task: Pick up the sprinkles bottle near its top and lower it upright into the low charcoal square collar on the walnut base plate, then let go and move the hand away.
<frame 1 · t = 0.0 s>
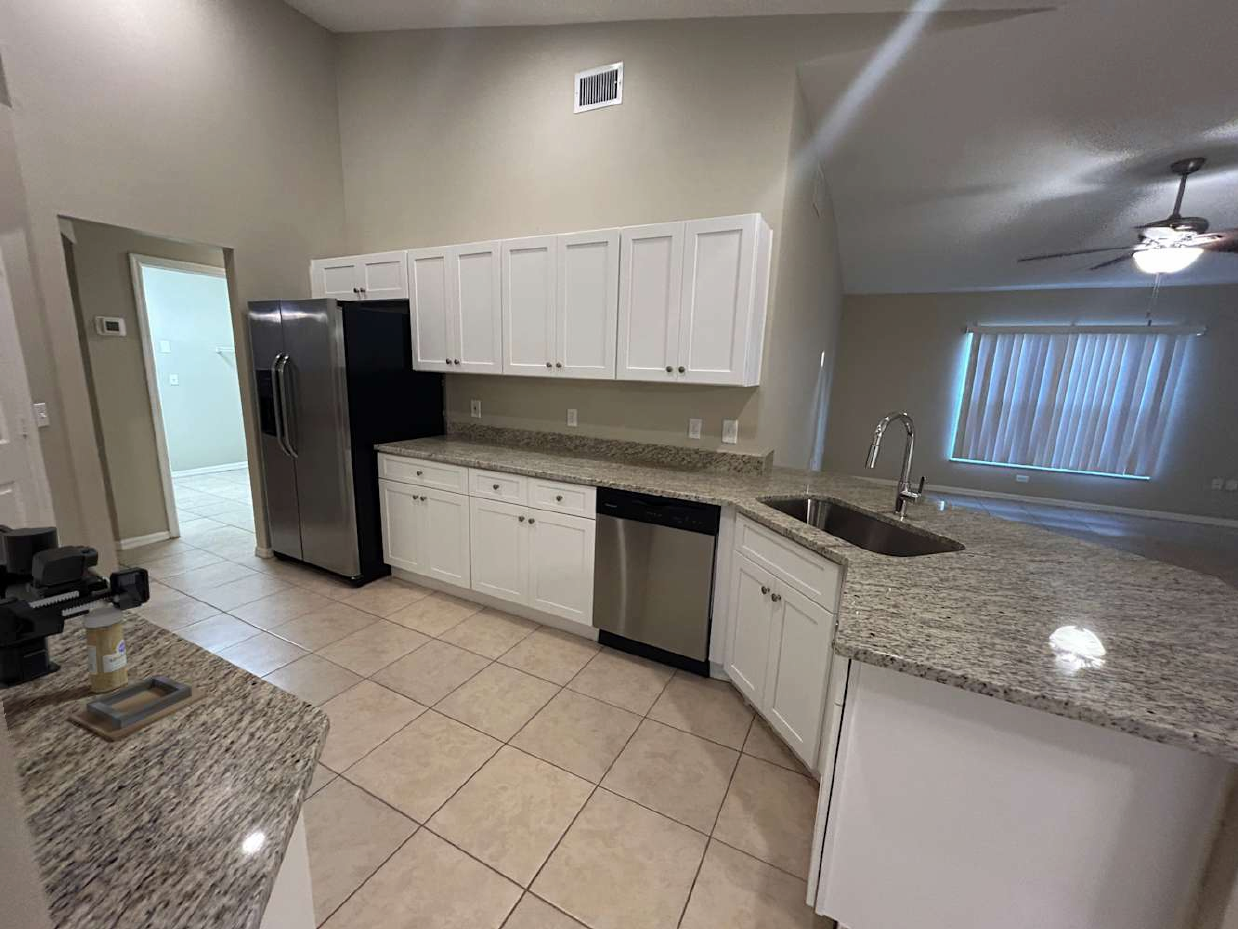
hand: (101, 614, 74), 17 cm above the counter, tool horizontal, fingers open, 9 cm apart
sprinkles bottle: (110, 687, 83), on the counter
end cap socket: (141, 706, 79), on the counter
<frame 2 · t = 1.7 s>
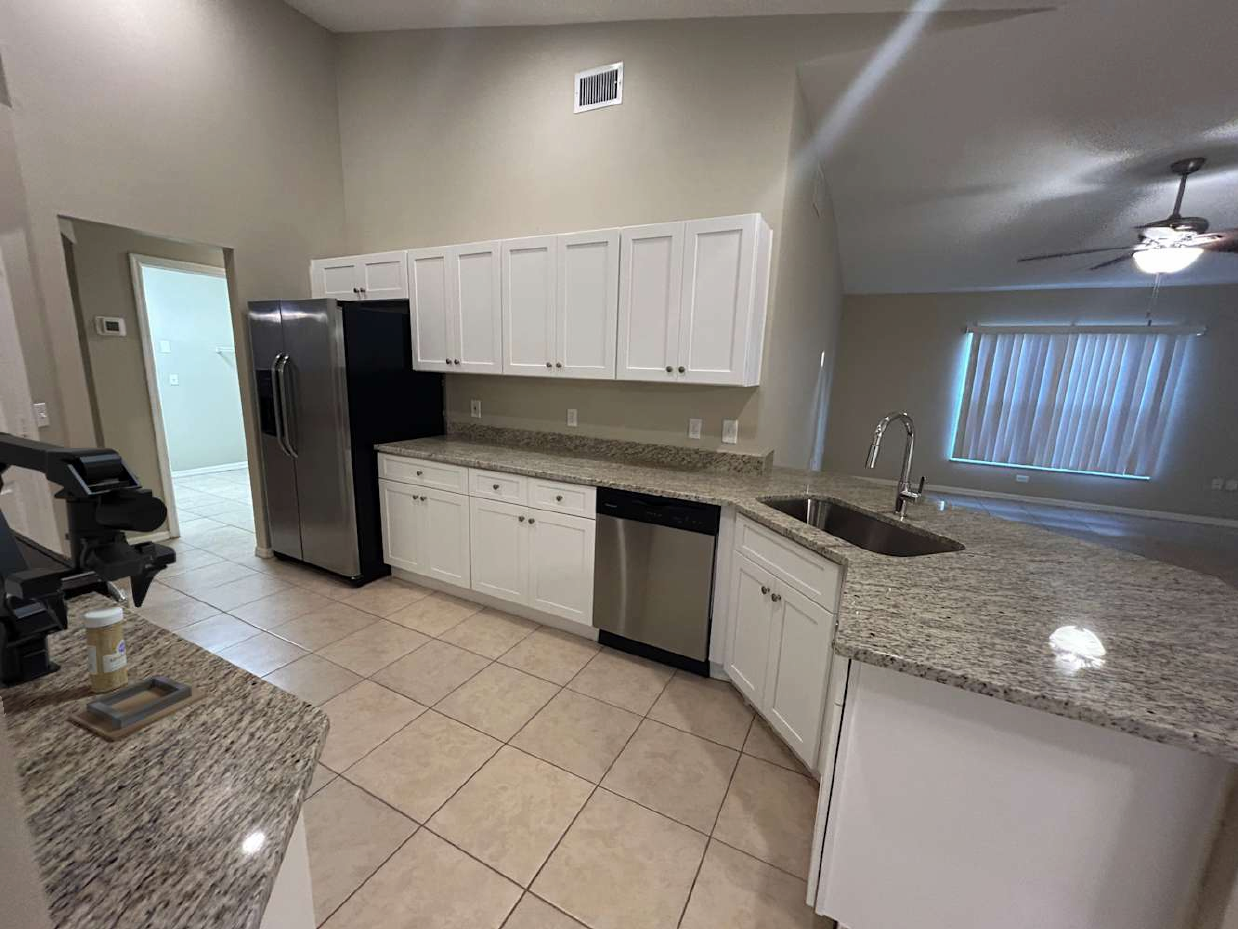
hand: (103, 617, 82), 12 cm above the counter, tool pointing down, fingers open, 9 cm apart
nothing on the counter moved.
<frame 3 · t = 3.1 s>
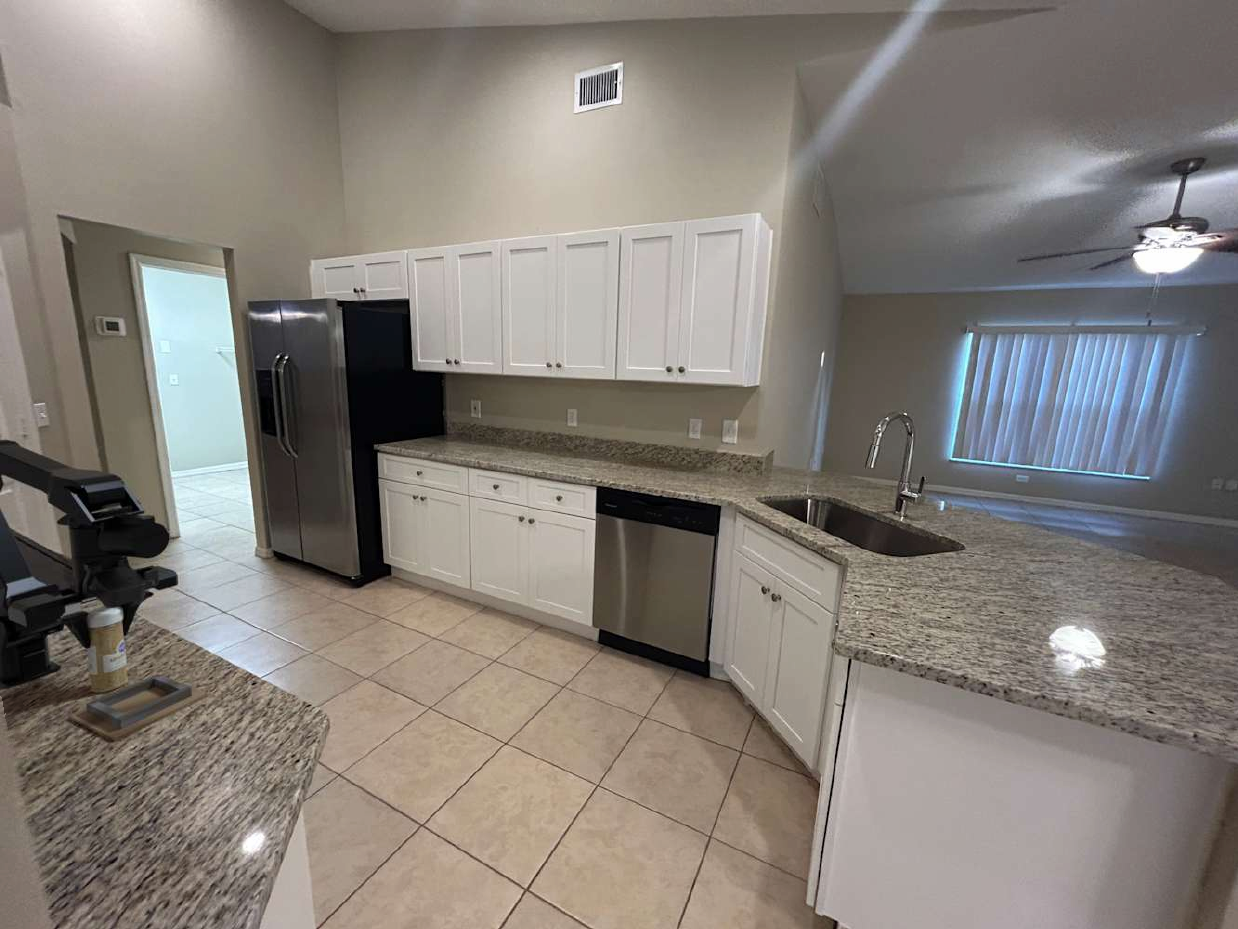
hand: (105, 641, 82), 8 cm above the counter, tool pointing down, fingers closed on sprinkles bottle, 4 cm apart
sprinkles bottle: (110, 687, 83), on the counter, touching gripper
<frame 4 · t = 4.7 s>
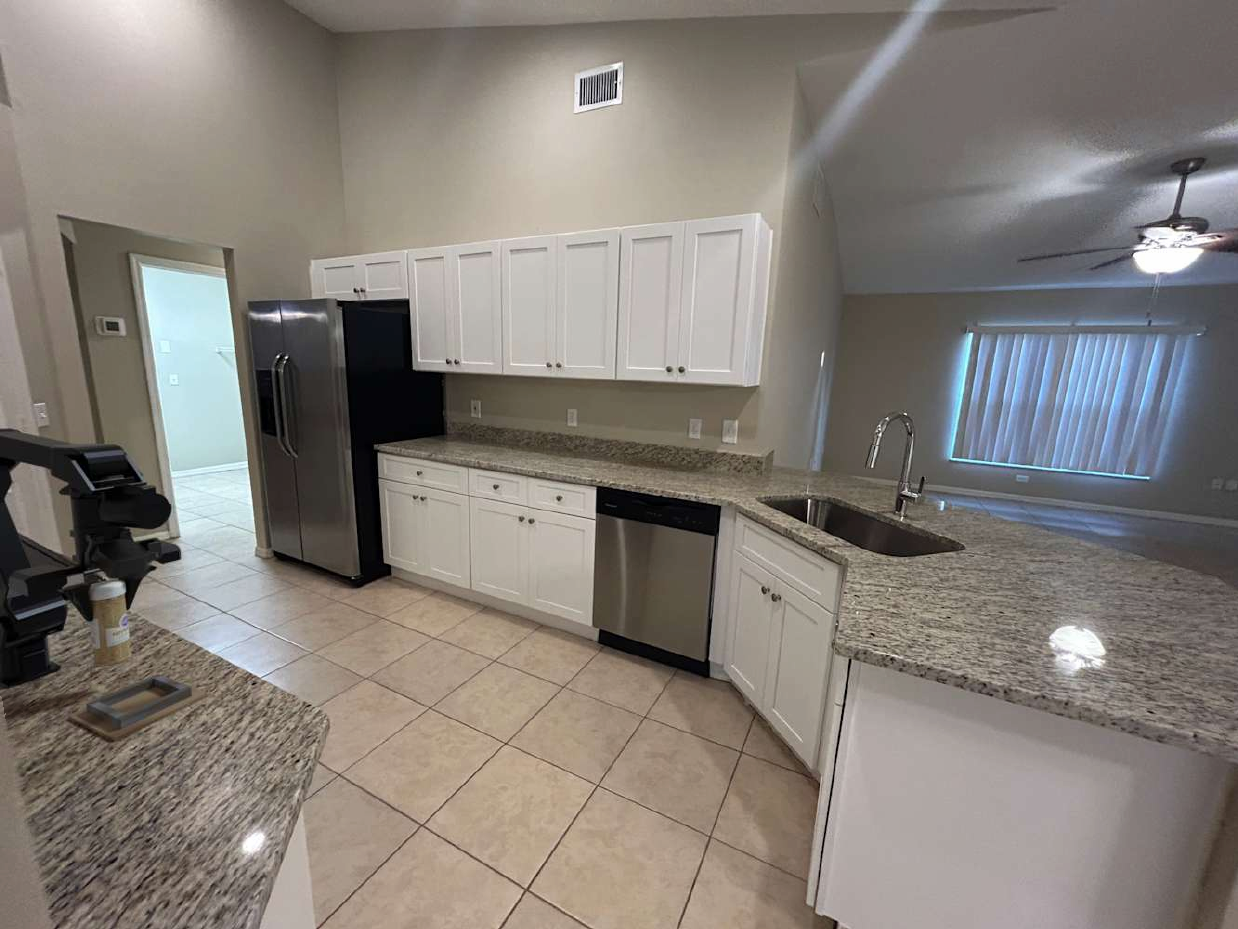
hand: (108, 615, 81), 13 cm above the counter, tool pointing down, fingers closed on sprinkles bottle, 4 cm apart
sprinkles bottle: (113, 661, 82), point 5 cm above the counter, touching gripper
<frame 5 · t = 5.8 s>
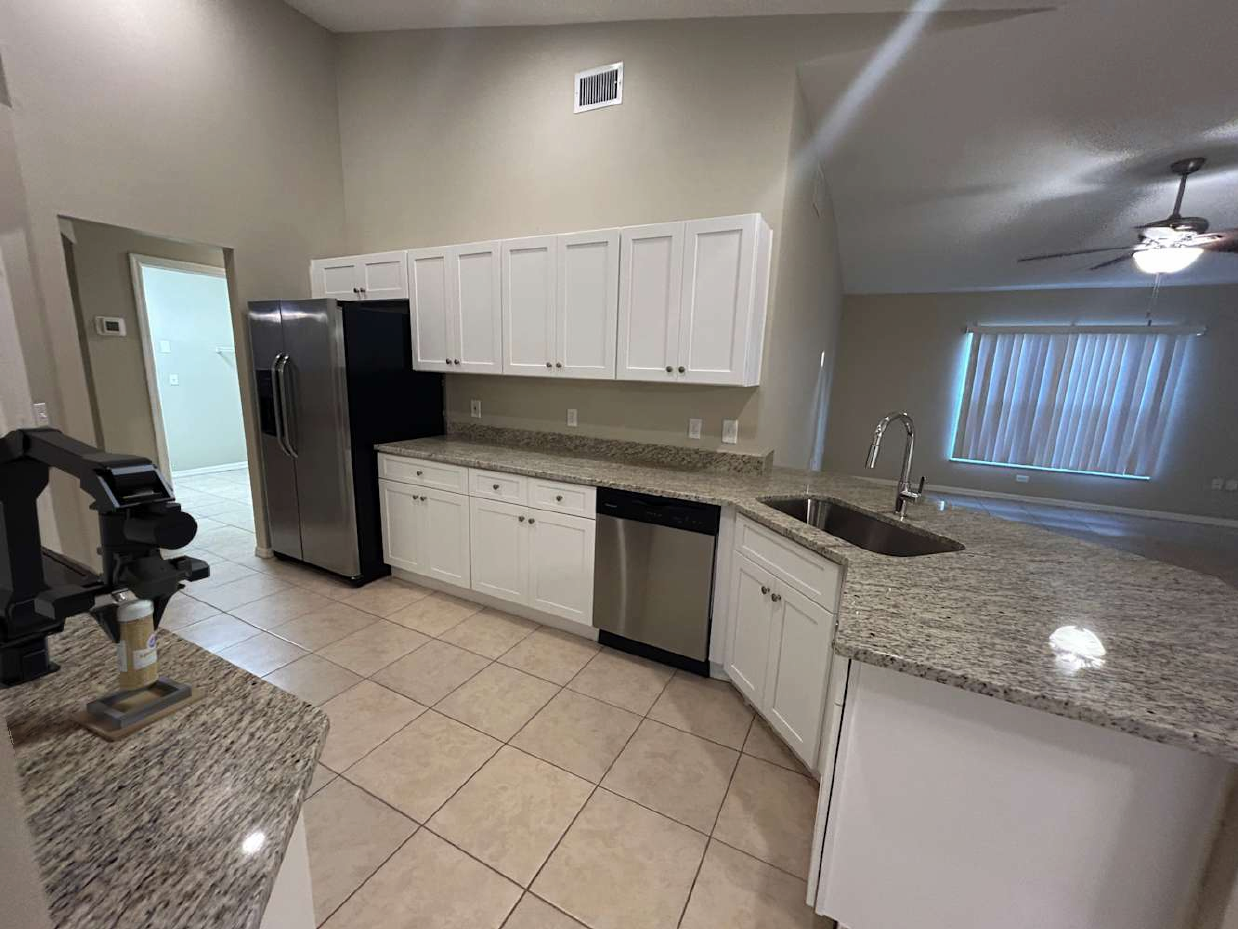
hand: (135, 636, 77), 12 cm above the counter, tool pointing down, fingers closed on sprinkles bottle, 4 cm apart
sprinkles bottle: (139, 684, 78), point 4 cm above the counter, touching gripper
when the fingers open (9 cm above the counter, at t = 6.6 s): sprinkles bottle stays where it is, resting on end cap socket.
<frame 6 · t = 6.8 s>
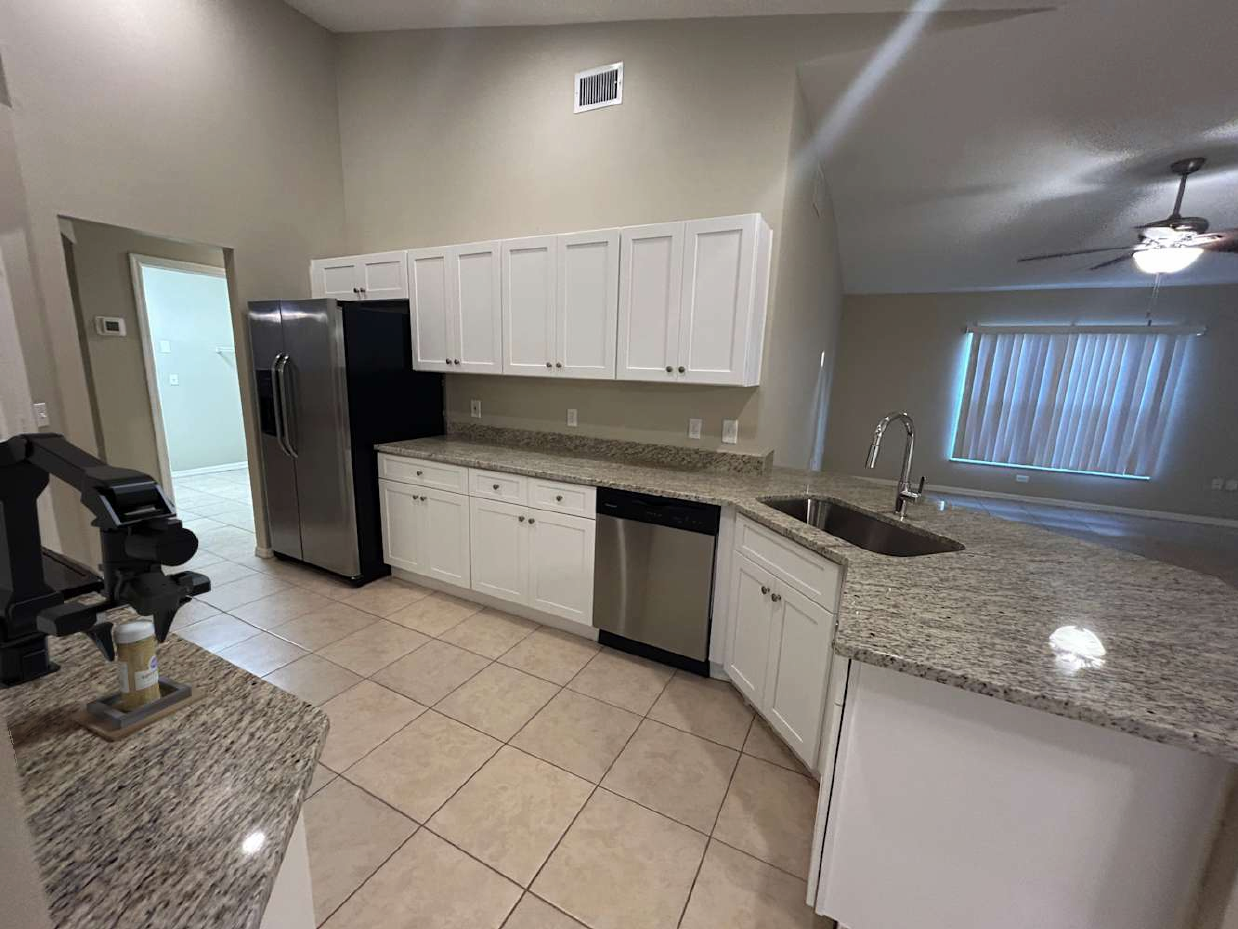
hand: (136, 651, 77), 9 cm above the counter, tool pointing down, fingers open, 6 cm apart
sprinkles bottle: (142, 704, 79), resting on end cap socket
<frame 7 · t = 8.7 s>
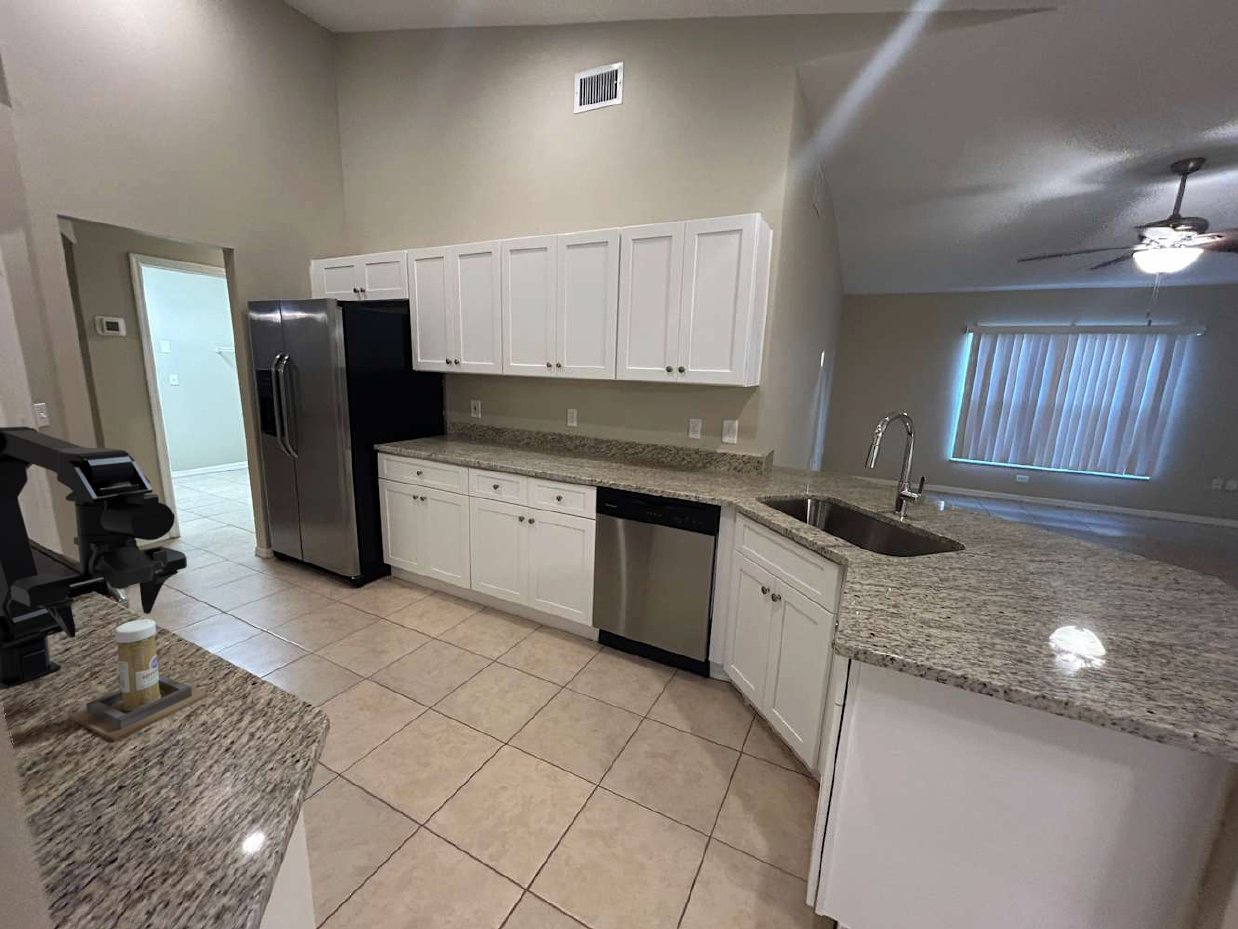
hand: (111, 624, 79), 13 cm above the counter, tool pointing down, fingers open, 9 cm apart
nothing on the counter moved.
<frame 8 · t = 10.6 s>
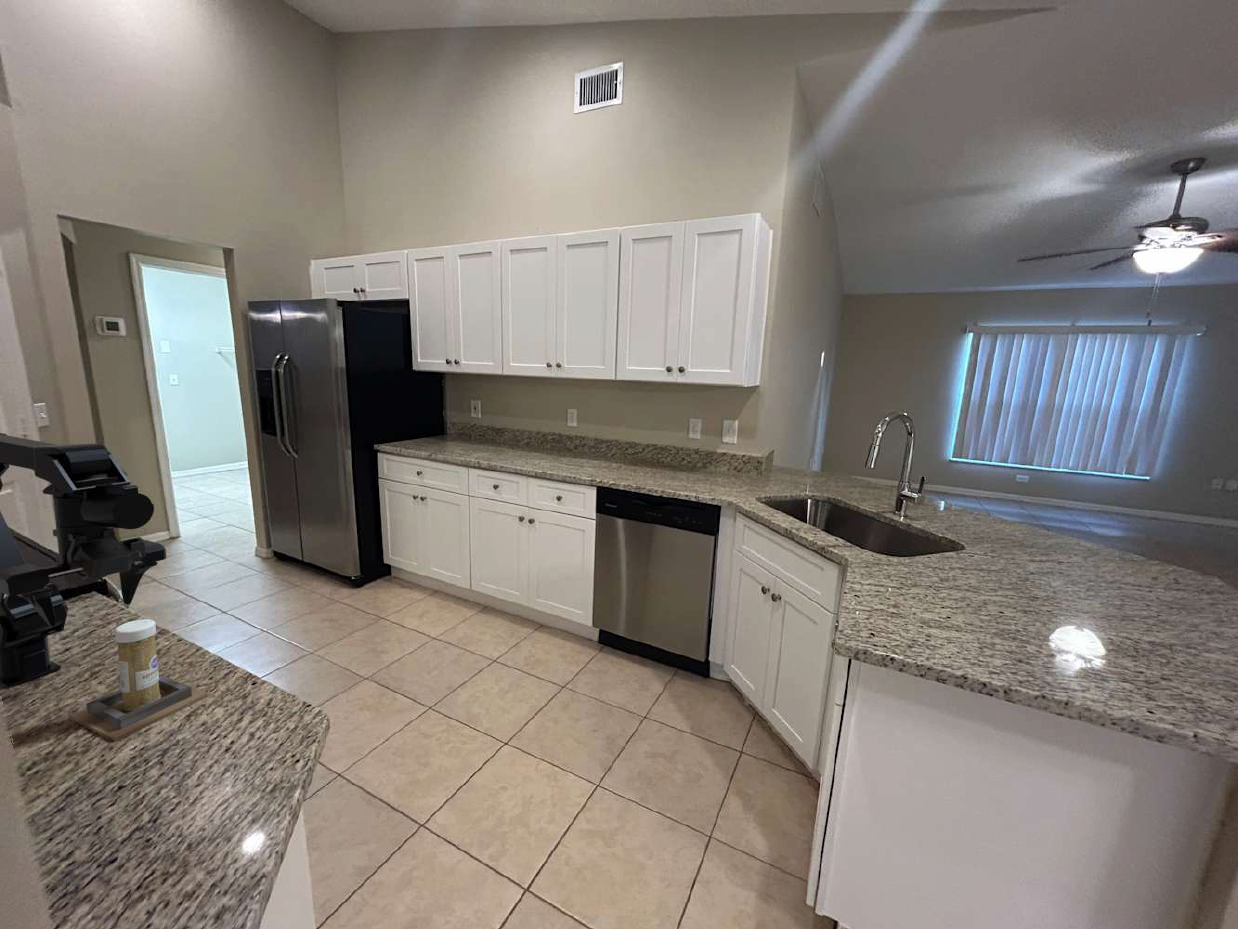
hand: (91, 614, 81), 13 cm above the counter, tool pointing down, fingers open, 9 cm apart
nothing on the counter moved.
at the end: sprinkles bottle 0.1 cm off-centre on the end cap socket, point 0.3 cm above the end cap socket's base; sprinkles bottle tilted 0°; the gripper is holding nothing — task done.
